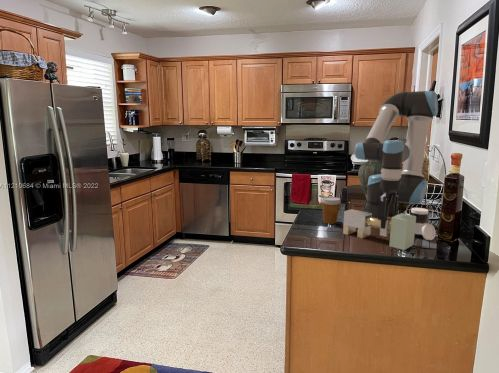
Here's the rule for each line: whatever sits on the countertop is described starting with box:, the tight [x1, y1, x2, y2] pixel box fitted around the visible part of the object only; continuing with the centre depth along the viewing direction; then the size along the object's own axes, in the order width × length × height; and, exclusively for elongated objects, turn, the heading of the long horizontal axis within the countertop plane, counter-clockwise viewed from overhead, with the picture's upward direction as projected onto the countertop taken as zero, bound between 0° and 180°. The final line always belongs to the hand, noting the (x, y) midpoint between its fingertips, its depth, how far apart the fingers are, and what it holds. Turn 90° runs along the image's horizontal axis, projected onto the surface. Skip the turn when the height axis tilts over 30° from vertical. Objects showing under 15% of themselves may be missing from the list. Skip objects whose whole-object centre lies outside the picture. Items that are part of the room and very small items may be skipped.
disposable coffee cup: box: [320, 196, 342, 225], centre depth 178 cm, size 10×10×12 cm
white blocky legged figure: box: [342, 208, 372, 239], centre depth 159 cm, size 7×10×10 cm
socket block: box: [388, 212, 416, 251], centre depth 145 cm, size 9×6×12 cm, turn 135°
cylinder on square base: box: [365, 216, 392, 235], centre depth 153 cm, size 5×20×6 cm, turn 45°
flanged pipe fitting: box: [409, 207, 437, 241], centre depth 157 cm, size 12×11×12 cm
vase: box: [357, 160, 382, 200], centre depth 218 cm, size 22×22×30 cm
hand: (386, 234), depth 150 cm, fingers closed on cylinder on square base, 5 cm apart
